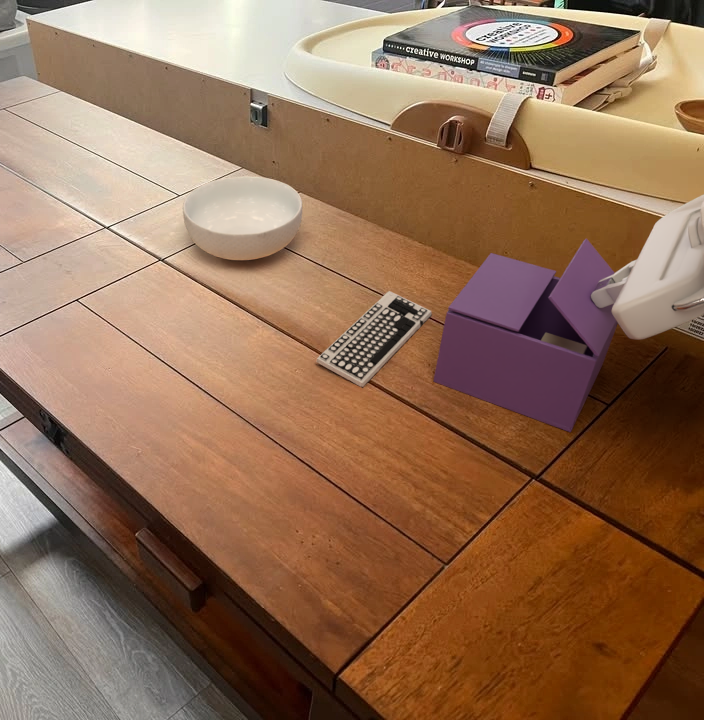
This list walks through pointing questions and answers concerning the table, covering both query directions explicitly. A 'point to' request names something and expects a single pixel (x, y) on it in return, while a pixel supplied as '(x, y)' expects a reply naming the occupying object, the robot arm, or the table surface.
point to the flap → (584, 297)
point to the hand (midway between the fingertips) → (597, 295)
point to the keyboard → (374, 338)
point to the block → (564, 343)
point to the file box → (516, 345)
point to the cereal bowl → (242, 216)
